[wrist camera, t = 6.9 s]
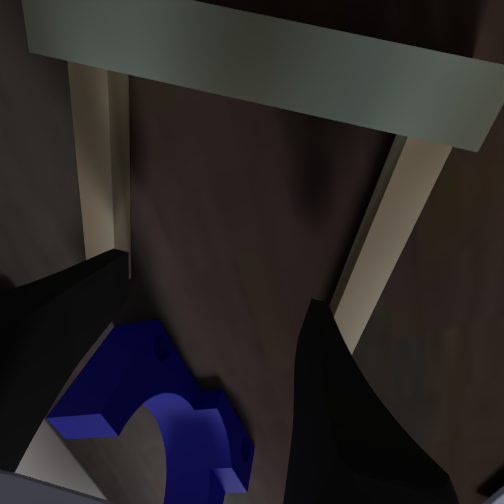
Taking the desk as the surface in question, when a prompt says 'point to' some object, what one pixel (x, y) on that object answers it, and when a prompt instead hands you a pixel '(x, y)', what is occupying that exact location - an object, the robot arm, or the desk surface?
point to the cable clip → (160, 413)
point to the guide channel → (272, 94)
